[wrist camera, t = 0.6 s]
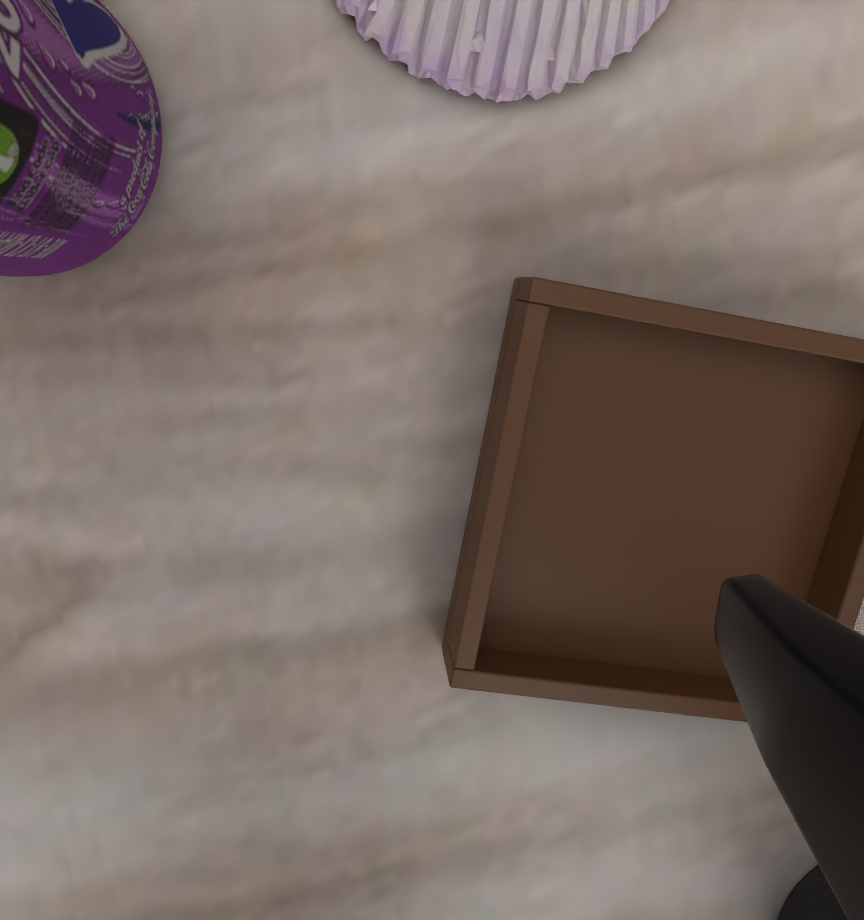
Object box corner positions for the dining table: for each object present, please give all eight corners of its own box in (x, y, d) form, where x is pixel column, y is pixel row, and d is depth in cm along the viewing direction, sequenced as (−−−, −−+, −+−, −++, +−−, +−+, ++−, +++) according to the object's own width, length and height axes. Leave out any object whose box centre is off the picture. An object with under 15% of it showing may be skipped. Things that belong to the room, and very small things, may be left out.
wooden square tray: (779, 690, 24) (821, 731, 22) (441, 648, 23) (449, 688, 21) (885, 347, 22) (944, 354, 20) (514, 277, 21) (532, 277, 18)
